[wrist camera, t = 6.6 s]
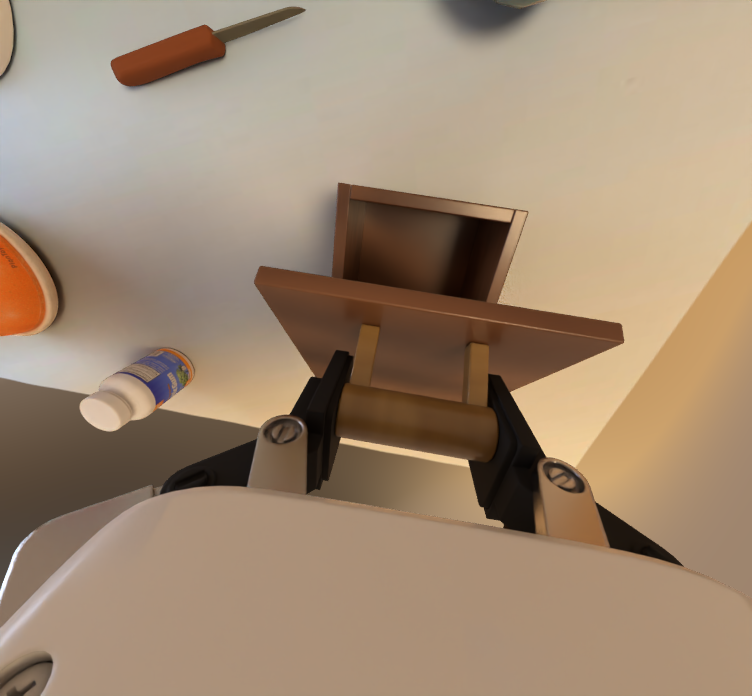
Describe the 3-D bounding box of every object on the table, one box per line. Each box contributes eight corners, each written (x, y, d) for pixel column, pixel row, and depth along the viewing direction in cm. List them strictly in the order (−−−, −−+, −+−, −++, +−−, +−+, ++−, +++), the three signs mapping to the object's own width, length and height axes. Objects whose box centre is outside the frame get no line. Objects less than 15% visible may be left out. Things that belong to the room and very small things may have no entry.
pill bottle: (193, 389, 37) (128, 445, 28) (153, 374, 37) (74, 426, 28) (197, 356, 35) (128, 406, 26) (154, 339, 34) (68, 384, 26)
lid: (259, 264, 9) (204, 410, 7) (622, 322, 9) (649, 488, 7) (324, 380, 24) (310, 438, 22) (463, 403, 23) (460, 465, 22)
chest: (359, 190, 25) (337, 182, 17) (490, 210, 25) (529, 211, 17) (345, 338, 32) (325, 381, 24) (448, 355, 31) (462, 405, 23)
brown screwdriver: (134, 91, 23) (111, 81, 22) (124, 69, 23) (100, 58, 21) (312, 30, 21) (303, 13, 19) (306, 4, 20) (297, -16, 18)
